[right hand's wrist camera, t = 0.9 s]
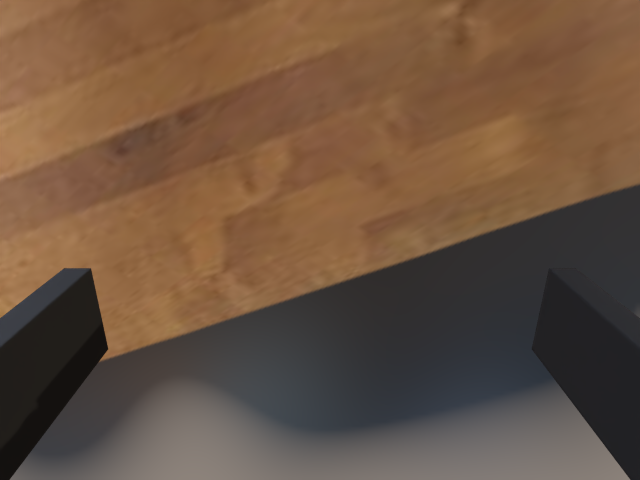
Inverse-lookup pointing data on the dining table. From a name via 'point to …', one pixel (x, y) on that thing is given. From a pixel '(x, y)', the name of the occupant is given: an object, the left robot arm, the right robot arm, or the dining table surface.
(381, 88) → the dining table surface
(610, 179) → the dining table surface
